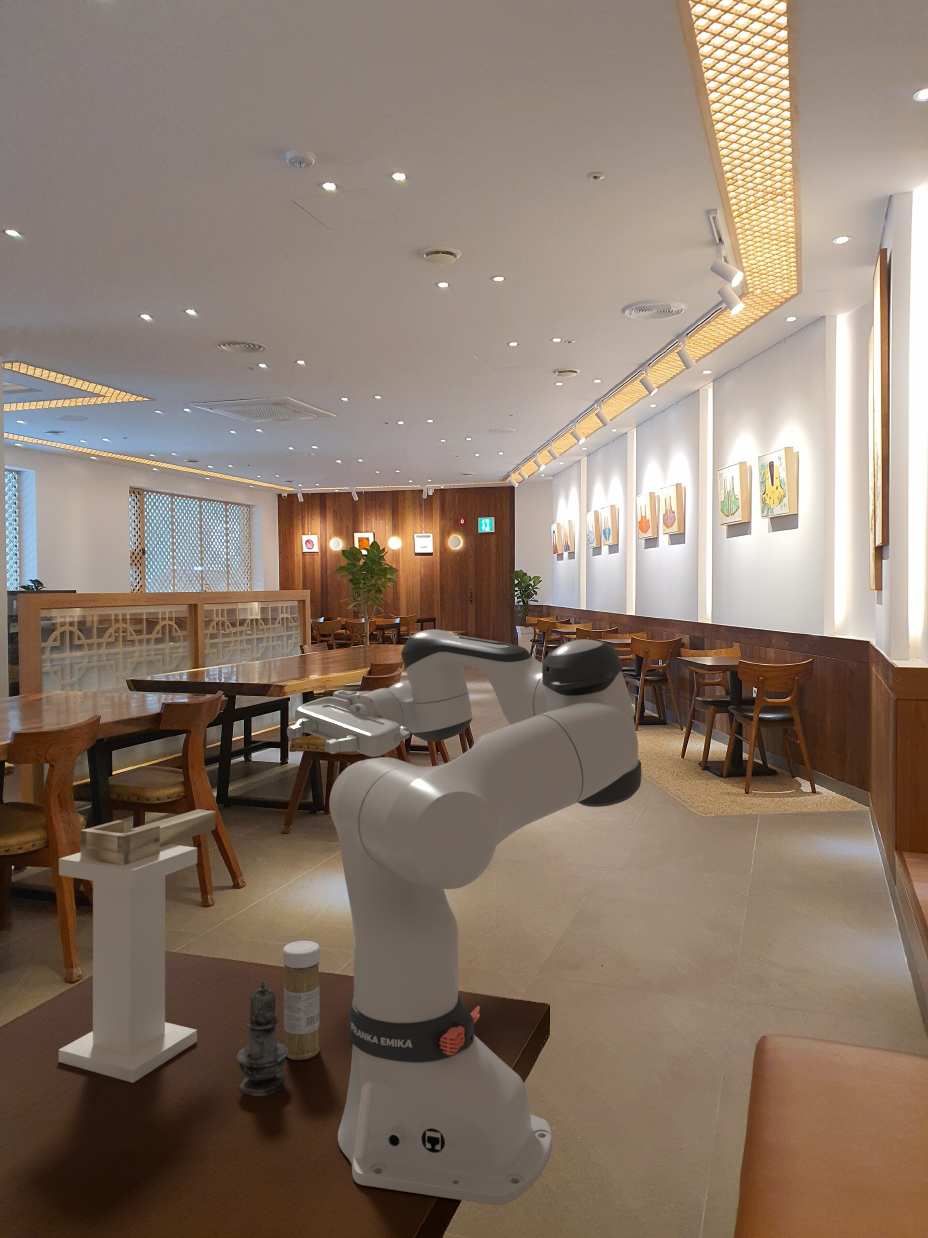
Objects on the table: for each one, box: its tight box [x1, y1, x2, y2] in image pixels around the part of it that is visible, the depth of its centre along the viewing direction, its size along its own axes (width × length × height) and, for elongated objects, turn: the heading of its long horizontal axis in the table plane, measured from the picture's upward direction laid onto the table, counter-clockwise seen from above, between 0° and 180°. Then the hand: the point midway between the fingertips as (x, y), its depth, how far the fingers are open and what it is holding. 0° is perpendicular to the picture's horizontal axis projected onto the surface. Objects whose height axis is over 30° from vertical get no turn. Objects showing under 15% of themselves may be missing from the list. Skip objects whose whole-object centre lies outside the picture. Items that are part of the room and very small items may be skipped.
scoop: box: [79, 808, 216, 866], centre depth 115 cm, size 7×19×4 cm, turn 156°
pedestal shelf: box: [58, 843, 198, 1084], centre depth 110 cm, size 12×11×25 cm
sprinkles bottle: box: [282, 940, 321, 1061], centre depth 110 cm, size 5×5×14 cm
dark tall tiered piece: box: [236, 981, 288, 1097], centre depth 103 cm, size 6×6×12 cm
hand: (308, 740), depth 138 cm, fingers open, 8 cm apart
